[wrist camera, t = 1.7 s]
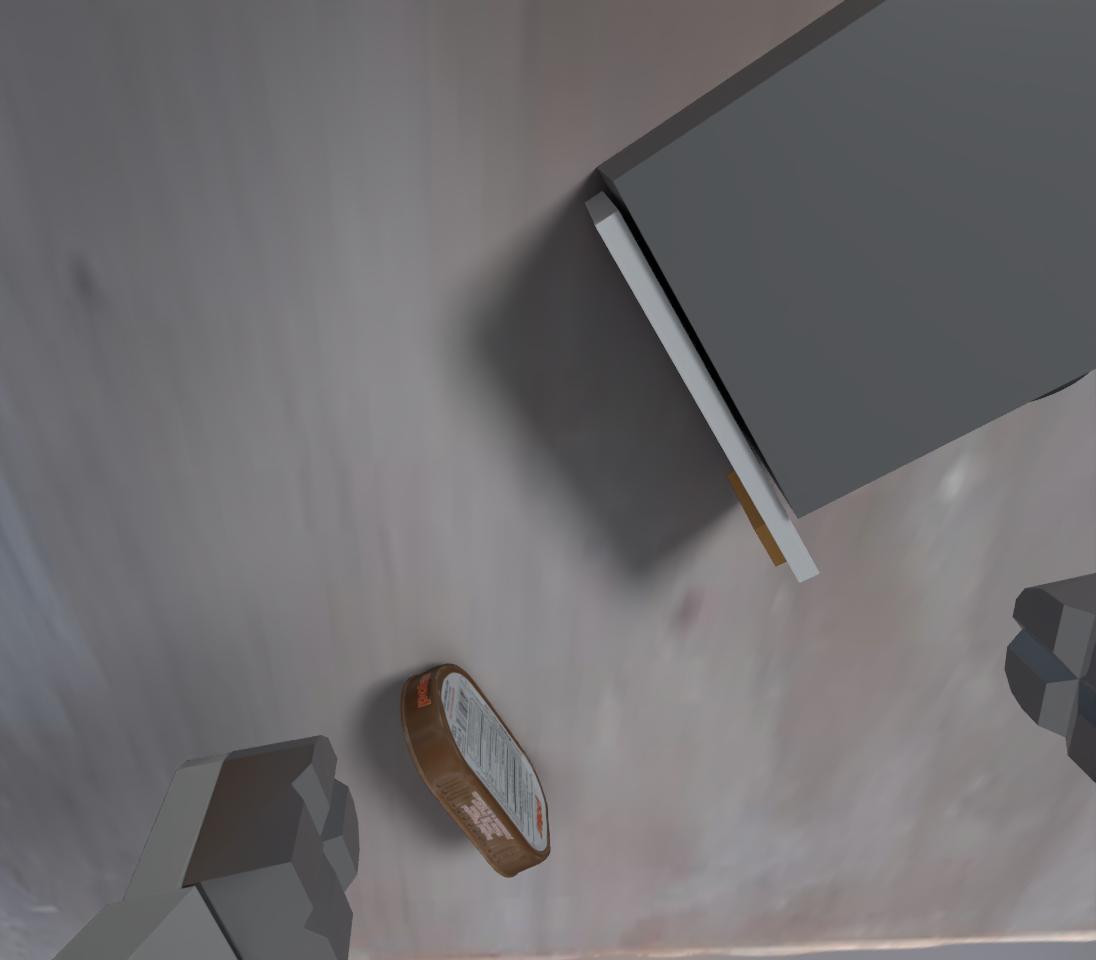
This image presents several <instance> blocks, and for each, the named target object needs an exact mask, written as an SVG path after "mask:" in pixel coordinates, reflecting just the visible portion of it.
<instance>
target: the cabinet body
mask: <svg viewBox="0 0 1096 960" xmlns="http://www.w3.org/2000/svg"><path fill="white" fill-rule="evenodd" d="M597 169H598V171H599V172H600V174H601V176H602V178H603V180H604V181H605V183H606V185H607V187H608V189H609V191H610V192H611V194H612V196H613V198H614V200H615V201H616V203H617V205H618V207H619V209H620V210H621V212H622V214H623V216H624V218H625V219H626V221H627V223H628V225H629V227H630V228H631V230H632V232H633V234H634V236H635V238H636V239H637V241H638V243H639V245H640V247H641V248H642V250H643V252H644V254H645V256H646V257H647V259H648V261H649V263H650V265H651V266H652V268H653V270H654V272H655V274H656V275H657V277H658V279H659V281H660V283H661V285H662V286H663V288H664V290H665V292H666V294H667V295H668V297H669V299H670V301H671V303H672V304H673V306H674V308H675V310H676V312H677V313H678V315H679V317H680V319H681V321H682V323H683V324H684V326H685V328H686V330H687V332H688V333H689V335H690V337H691V339H692V341H693V342H694V344H695V346H696V348H697V350H698V351H699V353H700V355H701V357H702V359H703V360H704V362H705V364H706V366H707V368H708V370H709V371H710V373H711V375H712V377H713V379H714V380H715V382H716V384H717V386H718V388H719V389H720V391H721V393H722V395H723V397H724V398H725V400H726V402H727V404H728V406H729V407H730V409H731V411H732V413H733V415H734V417H735V418H736V420H737V422H738V424H739V426H740V427H741V429H742V431H743V433H744V434H745V436H746V437H747V439H748V441H749V442H750V444H751V445H752V447H753V448H754V450H755V452H756V453H757V455H758V456H759V458H760V460H761V461H762V463H763V464H764V466H765V467H766V469H767V471H768V472H769V474H770V475H771V477H772V478H773V480H774V482H775V483H776V485H777V486H778V488H779V489H780V491H781V493H782V494H783V496H784V497H785V499H786V501H787V502H788V504H789V505H790V507H791V508H792V510H793V512H794V513H795V515H796V516H797V518H800V517H802V516H804V515H806V514H808V513H810V512H812V511H814V510H816V509H818V508H820V507H822V506H824V505H826V504H828V503H830V502H832V501H834V500H836V499H838V498H840V497H842V496H844V495H846V494H848V493H850V492H852V491H854V490H856V489H858V488H860V487H862V486H864V485H866V484H868V483H870V482H872V481H874V480H876V479H878V478H880V477H882V476H884V475H886V474H888V473H890V472H892V471H894V470H896V469H897V468H899V467H901V466H903V465H905V464H907V463H909V462H911V461H913V460H915V459H917V458H919V457H921V456H923V455H925V454H927V453H929V452H931V451H933V450H935V449H937V448H939V447H941V446H943V445H945V444H947V443H949V442H951V441H953V440H955V439H957V438H959V437H961V436H963V435H965V434H967V433H969V432H971V431H973V430H975V429H977V428H979V427H981V426H983V425H985V424H987V423H989V422H991V421H993V420H995V419H997V418H999V417H1001V416H1003V415H1005V414H1007V413H1009V412H1011V411H1013V410H1015V409H1016V408H1018V407H1020V406H1022V405H1024V404H1026V403H1028V402H1031V401H1035V400H1038V399H1041V398H1044V397H1047V396H1049V395H1052V394H1054V393H1056V392H1059V391H1061V390H1063V389H1065V388H1067V387H1068V386H1070V385H1072V384H1074V383H1075V382H1077V381H1078V380H1080V379H1081V378H1083V377H1084V376H1085V375H1087V374H1088V373H1089V372H1090V371H1092V370H1094V369H1096V0H845V1H844V2H842V3H841V4H839V5H838V6H836V7H835V8H833V9H832V10H830V11H829V12H827V13H826V14H824V15H823V16H821V17H820V18H818V19H817V20H815V21H814V22H812V23H811V24H809V25H808V26H806V27H805V28H803V29H802V30H800V31H799V32H797V33H796V34H794V35H793V36H791V37H790V38H788V39H787V40H786V41H784V42H783V43H781V44H780V45H778V46H777V47H775V48H774V49H772V50H771V51H769V52H768V53H766V54H765V55H763V56H762V57H760V58H759V59H757V60H756V61H754V62H753V63H751V64H750V65H748V66H747V67H745V68H744V69H742V70H741V71H739V72H738V73H736V74H735V75H733V76H732V77H730V78H729V79H727V80H726V81H724V82H723V83H721V84H720V85H719V86H717V87H716V88H714V89H713V90H711V91H710V92H708V93H707V94H705V95H704V96H702V97H701V98H699V99H698V100H696V101H695V102H693V103H692V104H690V105H689V106H687V107H686V108H684V109H683V110H681V111H680V112H678V113H677V114H675V115H674V116H672V117H671V118H669V119H668V120H666V121H665V122H663V123H662V124H660V125H659V126H657V127H656V128H654V129H653V130H652V131H650V132H649V133H647V134H646V135H644V136H643V137H641V138H640V139H638V140H637V141H635V142H634V143H632V144H631V145H629V146H628V147H626V148H625V149H623V150H622V151H620V152H619V153H617V154H616V155H614V156H613V157H611V158H610V159H608V160H607V161H605V162H604V163H602V164H601V165H599V166H598V167H597Z"/></svg>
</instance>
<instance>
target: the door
mask: <svg viewBox="0 0 1096 960" xmlns="http://www.w3.org/2000/svg"><path fill="white" fill-rule="evenodd" d="M585 205H586V207H587V209H588V211H589V214H590V216H591V218H592V220H593V222H594V225H595V226H596V228H597V230H598V232H599V233H600V235H601V237H602V239H603V240H604V242H605V244H606V246H607V247H608V249H609V251H610V253H611V254H612V256H613V258H614V260H615V261H616V263H617V265H618V267H619V268H620V270H621V272H622V274H623V275H624V277H625V279H626V281H627V282H628V284H629V286H630V288H631V289H632V291H633V293H634V295H635V296H636V298H637V300H638V302H639V303H640V305H641V307H642V309H643V310H644V312H645V314H646V316H647V317H648V319H649V321H650V323H651V324H652V326H653V328H654V330H655V331H656V333H657V335H658V337H659V338H660V340H661V342H662V344H663V345H664V347H665V349H666V351H667V352H668V354H669V356H670V358H671V359H672V361H673V363H674V365H675V366H676V368H677V370H678V372H679V373H680V375H681V377H682V379H683V380H684V382H685V384H686V386H687V387H688V389H689V391H690V393H691V394H692V396H693V398H694V400H695V401H696V403H697V405H698V407H699V408H700V410H701V412H702V414H703V415H704V417H705V419H706V421H707V422H708V424H709V426H710V427H711V429H712V431H713V433H714V434H715V436H716V438H717V440H718V441H719V443H720V445H721V447H722V448H723V450H724V452H725V454H726V455H727V457H728V459H729V461H730V462H731V464H732V466H733V468H734V469H735V470H734V471H733V472H731V473H729V474H727V477H728V479H729V481H730V483H731V485H732V487H733V489H734V491H735V493H736V495H737V497H738V499H739V501H740V503H741V505H742V507H743V509H744V511H745V512H746V514H747V516H748V518H749V520H750V522H751V524H752V526H753V528H754V530H755V532H756V534H757V535H758V537H759V539H760V540H761V542H762V544H763V546H764V547H765V549H766V551H767V552H768V554H769V556H770V558H771V559H772V561H773V563H774V564H775V566H778V565H780V564H782V563H784V562H786V561H787V562H788V564H789V566H790V567H791V569H792V571H793V573H794V574H795V576H796V578H797V580H798V581H799V583H801V582H803V581H805V580H807V579H809V578H811V577H813V576H815V575H817V574H819V571H818V569H817V567H816V566H815V564H814V562H813V560H812V558H811V557H810V555H809V553H808V551H807V549H806V548H805V546H804V544H803V542H802V540H801V539H800V537H799V535H798V533H797V531H796V530H795V528H794V526H793V524H792V522H791V520H790V519H789V517H788V515H787V513H786V511H785V510H784V508H783V506H782V504H781V502H780V501H779V499H778V497H777V495H776V493H775V492H774V490H773V488H772V486H771V484H770V483H769V481H768V479H767V477H766V475H765V474H764V472H763V470H762V468H761V466H760V465H759V463H758V461H757V459H756V457H755V456H754V454H753V452H752V450H751V448H750V446H749V445H748V443H747V441H746V439H745V437H744V436H743V434H742V432H741V430H740V428H739V427H738V425H737V423H736V421H735V419H734V418H733V416H732V414H731V412H730V410H729V409H728V407H727V405H726V403H725V401H724V400H723V398H722V396H721V394H720V392H719V391H718V389H717V387H716V385H715V383H714V382H713V380H712V378H711V376H710V374H709V372H708V371H707V369H706V367H705V365H704V363H703V362H702V360H701V358H700V356H699V354H698V353H697V351H696V349H695V347H694V345H693V344H692V342H691V340H690V338H689V336H688V335H687V333H686V331H685V329H684V327H683V326H682V324H681V322H680V320H679V318H678V317H677V315H676V313H675V311H674V309H673V308H672V306H671V304H670V302H669V300H668V299H667V297H666V295H665V293H664V291H663V289H662V288H661V286H660V284H659V282H658V280H657V279H656V277H655V275H654V273H653V271H652V270H651V268H650V266H649V264H648V262H647V261H646V259H645V257H644V255H643V253H642V252H641V250H640V248H639V246H638V244H637V243H636V241H635V239H634V237H633V235H632V234H631V232H630V230H629V228H628V226H627V225H626V223H625V221H624V219H623V217H622V215H621V214H620V212H619V210H618V209H617V208H616V206H615V205H614V204H613V203H612V202H611V200H610V199H609V198H608V197H607V196H606V194H605V193H604V192H603V191H602V192H600V193H599V194H597V195H595V196H594V197H592V198H591V199H589V200H588V201H586V202H585Z"/></svg>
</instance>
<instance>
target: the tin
mask: <svg viewBox="0 0 1096 960" xmlns="http://www.w3.org/2000/svg"><path fill="white" fill-rule="evenodd" d="M401 720H402V725H403V731H404V736H405V739H406V743H407V746H408V749H409V752H410V754H411V757H412V759H413V762H414V764H415V766H416V768H417V770H418V772H419V775H420V776H421V778H422V780H423V781H424V783H425V784H426V786H427V787H428V789H429V790H430V791H431V792H432V794H433V795H434V796H435V797H436V799H437V800H438V801H439V802H440V803H441V805H442V806H443V807H444V808H445V810H446V811H447V812H448V813H449V815H450V816H451V817H452V818H453V819H454V821H455V822H456V823H457V824H458V826H459V827H460V828H461V829H462V830H463V832H464V833H465V834H466V836H467V837H468V838H469V839H470V840H471V842H472V843H473V844H474V845H475V847H476V848H477V849H478V850H479V852H480V853H481V854H482V855H483V857H484V858H485V859H486V861H487V862H488V863H489V864H490V865H491V866H492V868H493V869H494V870H495V871H496V872H497V873H499V874H500V875H502V876H504V877H509V878H510V877H514V876H515V875H517V874H518V873H519V872H521V871H524V870H526V869H528V868H531V867H533V866H535V865H537V864H540V863H541V862H543V861H544V860H545V859H546V858H547V857H548V856H549V854H550V833H549V823H548V807H547V802H546V798H545V795H544V792H543V789H542V786H541V783H540V781H539V778H538V776H537V774H536V772H535V769H534V767H533V765H532V763H531V762H530V760H529V758H528V757H527V755H526V753H525V752H524V751H523V749H522V748H521V746H520V745H519V743H518V742H517V741H516V739H515V738H514V736H513V735H512V733H511V732H510V731H509V729H508V728H507V726H506V725H505V723H504V722H503V721H502V719H501V718H500V716H499V715H498V714H497V712H496V711H495V709H494V708H493V707H492V705H491V704H490V702H489V701H488V700H487V698H486V697H485V696H484V694H483V693H482V691H481V690H480V689H479V687H478V686H477V685H476V683H475V682H474V681H473V679H472V678H471V677H470V676H469V675H468V674H467V673H466V672H465V671H464V670H463V669H461V668H460V667H458V666H457V665H454V664H444V665H440V666H438V667H435V668H433V669H431V670H429V671H427V672H424V673H422V674H420V675H414V676H412V677H410V678H409V679H408V680H407V682H406V683H405V685H404V687H403V690H402V695H401Z"/></svg>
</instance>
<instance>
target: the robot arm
mask: <svg viewBox="0 0 1096 960" xmlns="http://www.w3.org/2000/svg"><path fill="white" fill-rule="evenodd" d="M1013 618H1014V619H1015V621H1016V622H1017V623H1018V624H1019V626H1020V627H1021V628H1022V630H1021V631H1020V632H1019V633H1018V635H1017V636H1016V637H1015V638H1014V639H1013V640H1012V642H1011V643H1010V644H1009V645H1008V646H1007V653H1006V661H1005V672H1006V676H1007V679H1008V683H1009V686H1010V689H1011V692H1012V694H1013V695H1014V697H1015V699H1016V700H1017V702H1018V703H1019V705H1020V706H1021V708H1022V709H1023V710H1024V711H1025V712H1026V713H1027V714H1028V716H1029V717H1030V718H1031V719H1032V720H1033V721H1034V722H1035V723H1036V724H1037V725H1038V726H1041V727H1043V728H1045V729H1048V730H1050V731H1052V732H1054V733H1057V734H1059V735H1061V736H1064V737H1065V738H1066V746H1067V754H1068V756H1069V757H1070V758H1071V759H1072V760H1073V761H1074V762H1075V763H1076V764H1077V765H1078V766H1079V767H1080V768H1081V769H1082V770H1083V771H1084V772H1085V773H1086V774H1087V775H1088V776H1089V777H1090V778H1091V779H1092V780H1093V781H1094V782H1095V783H1096V573H1093V574H1088V575H1084V576H1079V577H1075V578H1070V579H1065V580H1061V581H1056V582H1052V583H1047V584H1042V585H1038V586H1033V587H1029V588H1025V589H1024V590H1023V591H1022V592H1021V594H1020V595H1019V596H1018V597H1017V599H1016V602H1015V607H1014V612H1013ZM336 764H337V757H336V755H335V752H334V750H333V748H332V745H331V743H330V741H329V739H328V738H327V737H325V736H322V735H319V736H313V737H308V738H302V739H297V740H291V741H286V742H281V743H275V744H270V745H264V746H259V747H253V748H248V749H242V750H237V751H233V752H232V753H227V754H221V755H216V756H210V757H204V758H199V759H193V760H187V761H186V762H185V763H184V764H183V765H182V766H181V767H180V768H179V769H178V770H177V771H176V772H175V774H174V777H173V779H172V781H171V784H170V786H169V789H168V791H167V794H166V796H165V798H164V801H163V803H162V806H161V808H160V811H159V813H158V815H157V818H156V820H155V823H154V825H153V828H152V830H151V833H150V835H149V837H148V840H147V842H146V845H145V847H144V850H143V852H142V854H141V857H140V859H139V862H138V864H137V867H136V869H135V871H134V874H133V876H132V879H131V881H130V884H129V886H128V888H127V891H126V893H125V896H124V898H123V901H121V902H117V903H113V904H109V905H106V906H105V907H104V908H103V909H102V910H101V911H100V912H99V913H98V914H97V915H96V916H95V917H94V918H93V919H92V920H91V921H90V922H89V923H88V924H87V925H86V926H85V927H84V928H83V929H82V930H81V931H80V932H79V933H78V934H77V935H76V936H75V937H74V938H73V939H72V940H71V941H70V942H69V943H68V944H67V945H66V946H65V947H64V948H63V949H62V950H61V951H60V952H59V953H58V954H57V955H56V956H55V957H54V958H53V959H52V960H348V953H349V945H350V936H351V927H352V918H353V912H352V910H351V908H350V905H349V903H348V900H347V898H346V896H345V893H344V892H345V890H346V889H347V888H348V886H349V885H350V884H351V882H352V881H353V880H354V878H355V877H356V875H357V872H358V862H359V851H360V848H359V829H358V819H357V814H356V810H355V805H354V801H353V798H352V796H351V793H350V790H349V788H348V786H346V785H344V784H343V783H341V782H339V781H338V780H336V779H334V777H335V771H336Z"/></svg>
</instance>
